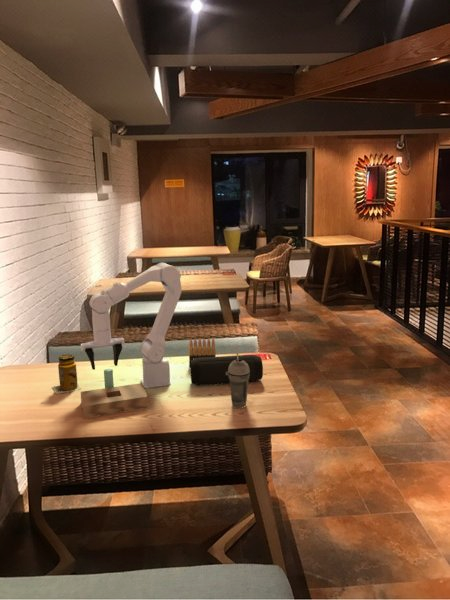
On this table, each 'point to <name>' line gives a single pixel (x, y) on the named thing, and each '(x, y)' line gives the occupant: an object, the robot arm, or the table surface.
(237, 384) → the beverage cup
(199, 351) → the ammunition clip
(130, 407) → the hole block
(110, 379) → the peg
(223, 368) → the portable speaker
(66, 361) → the condiment
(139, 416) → the table surface
